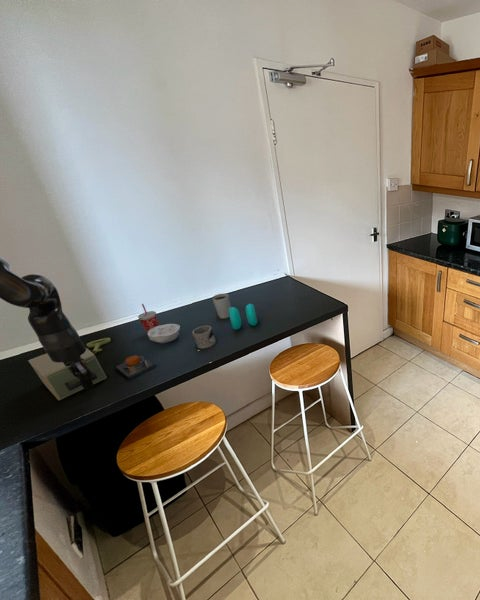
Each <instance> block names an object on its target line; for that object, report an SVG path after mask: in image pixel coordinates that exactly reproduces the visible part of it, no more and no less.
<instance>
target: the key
mask: <svg viewBox="0 0 480 600" xmlns="http://www.w3.org/2000/svg"><path fill="white" fill-rule="evenodd" d="M111 339H112V338H111V337H104V338H100V339H96V340H92V341H90V342H88V343H86V348H93V349H92V353H93V354H97V353H99V352H102V351H103V348H101V347H102V346H103V345H107V344H108V343H110V342H111V341H112V340H111Z"/></svg>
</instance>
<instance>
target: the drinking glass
mask: <svg viewBox="0 0 480 600" xmlns="http://www.w3.org/2000/svg"><path fill="white" fill-rule="evenodd" d="M211 299H212V303H213V305H214V308H215V310H216V313H217V315H218V316H217V317H218V318H219V319H228V318H230V316H229V309H230V308H231V307H232V305H231V301H230V296H229V294H228V293H218V294H214V295H213V296H212V297H211Z"/></svg>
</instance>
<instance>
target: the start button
mask: <svg viewBox="0 0 480 600" xmlns="http://www.w3.org/2000/svg"><path fill="white" fill-rule="evenodd" d="M138 356H139V355H131V356H129V357H127V358H126V359H125V361H126V363H127V365H129V366H130V365H134V364H136V363H138V362H139V361H140V360H139V358H138ZM125 361H124V362H125Z"/></svg>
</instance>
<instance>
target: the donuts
mask: <svg viewBox="0 0 480 600" xmlns="http://www.w3.org/2000/svg"><path fill="white" fill-rule="evenodd" d="M245 313H246V318H247V321H248V322H247V323H248V324H249V325H250V326H253V327H255V326H257V325H258V324H259V323H258V322H259V321H258V317H257V312H256V307H255V305H254V304H253V303H248V304H247V305H246V306H245ZM229 316H230V317H229V321H230V324H231V327H232V329H234V330H240V328H241V327H242V318H241V314H240V310H239V309H237V308H236V307H234V306H231V308H230V309H229Z"/></svg>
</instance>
